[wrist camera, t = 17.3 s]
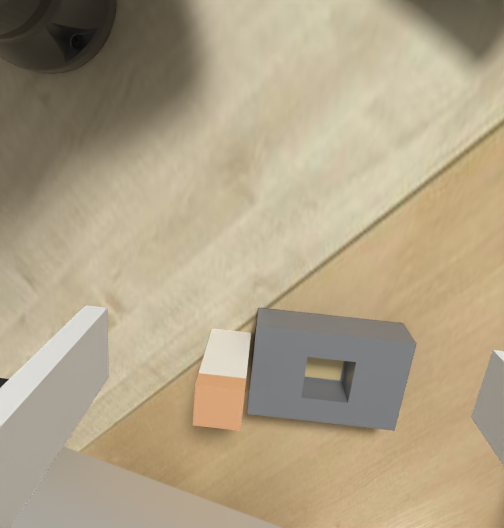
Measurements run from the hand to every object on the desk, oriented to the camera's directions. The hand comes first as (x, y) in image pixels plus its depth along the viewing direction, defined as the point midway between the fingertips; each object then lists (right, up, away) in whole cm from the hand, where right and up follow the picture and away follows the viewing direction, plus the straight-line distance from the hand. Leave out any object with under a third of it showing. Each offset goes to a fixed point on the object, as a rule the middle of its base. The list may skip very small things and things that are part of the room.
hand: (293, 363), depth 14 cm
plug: (-4, -7, +39) cm, 40 cm away
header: (+8, -9, +39) cm, 41 cm away
